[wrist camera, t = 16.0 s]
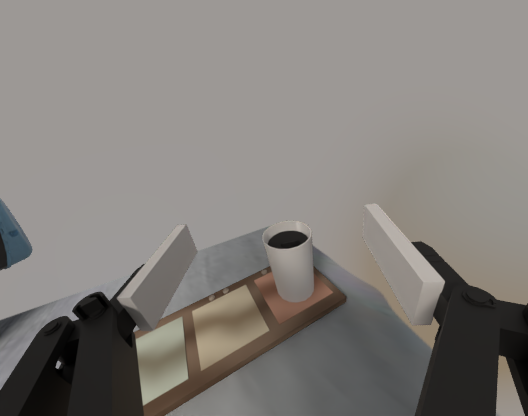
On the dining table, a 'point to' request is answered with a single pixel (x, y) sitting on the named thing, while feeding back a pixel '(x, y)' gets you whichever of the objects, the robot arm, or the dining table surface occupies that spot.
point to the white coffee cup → (291, 259)
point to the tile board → (222, 337)
